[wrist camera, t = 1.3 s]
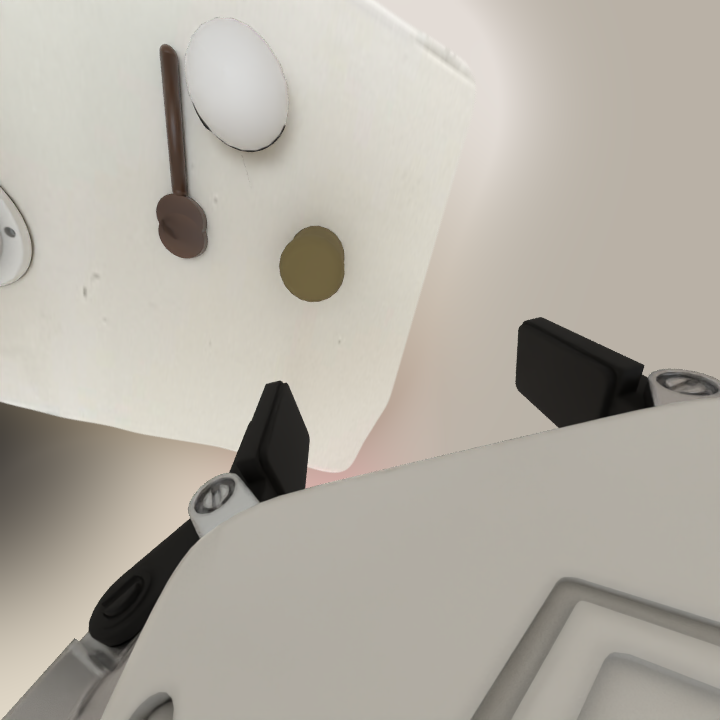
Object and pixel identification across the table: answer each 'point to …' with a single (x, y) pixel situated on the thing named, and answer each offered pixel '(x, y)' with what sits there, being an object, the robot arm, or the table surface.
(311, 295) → the cork
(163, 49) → the wooden spoon
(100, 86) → the table surface
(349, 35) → the table surface
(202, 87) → the white ovoid
